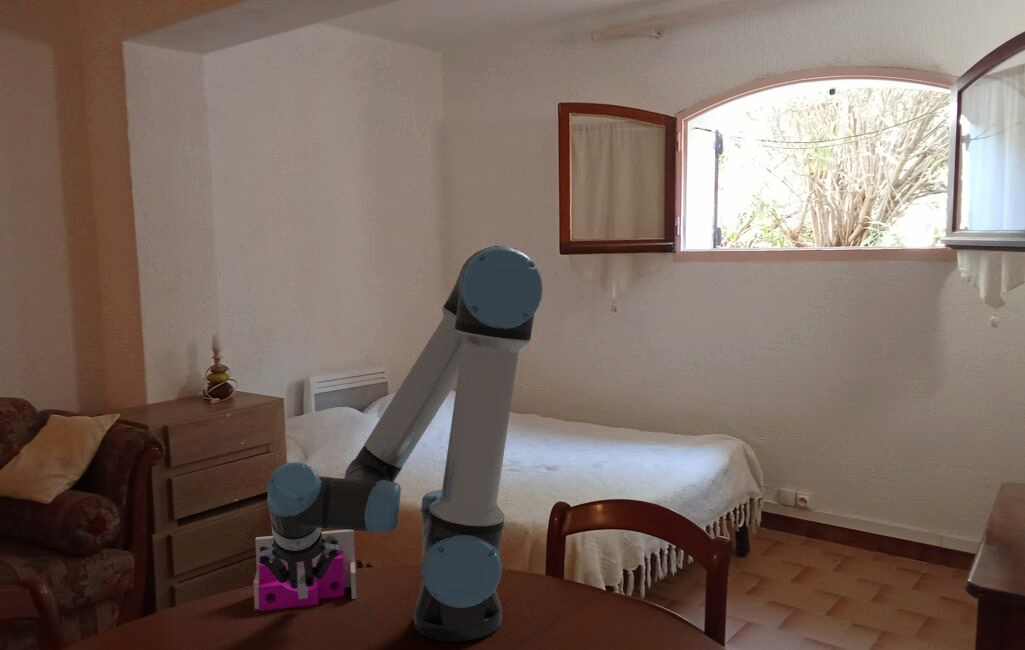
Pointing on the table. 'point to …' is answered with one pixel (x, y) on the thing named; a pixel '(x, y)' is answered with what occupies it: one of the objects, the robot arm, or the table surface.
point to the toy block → (286, 597)
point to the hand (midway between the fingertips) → (303, 591)
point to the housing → (344, 544)
